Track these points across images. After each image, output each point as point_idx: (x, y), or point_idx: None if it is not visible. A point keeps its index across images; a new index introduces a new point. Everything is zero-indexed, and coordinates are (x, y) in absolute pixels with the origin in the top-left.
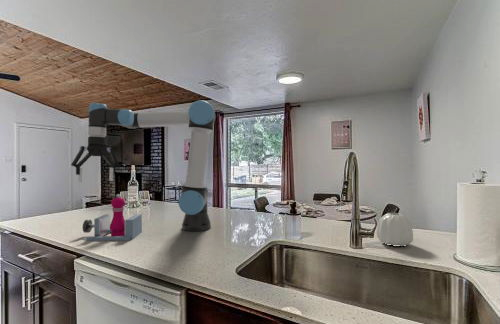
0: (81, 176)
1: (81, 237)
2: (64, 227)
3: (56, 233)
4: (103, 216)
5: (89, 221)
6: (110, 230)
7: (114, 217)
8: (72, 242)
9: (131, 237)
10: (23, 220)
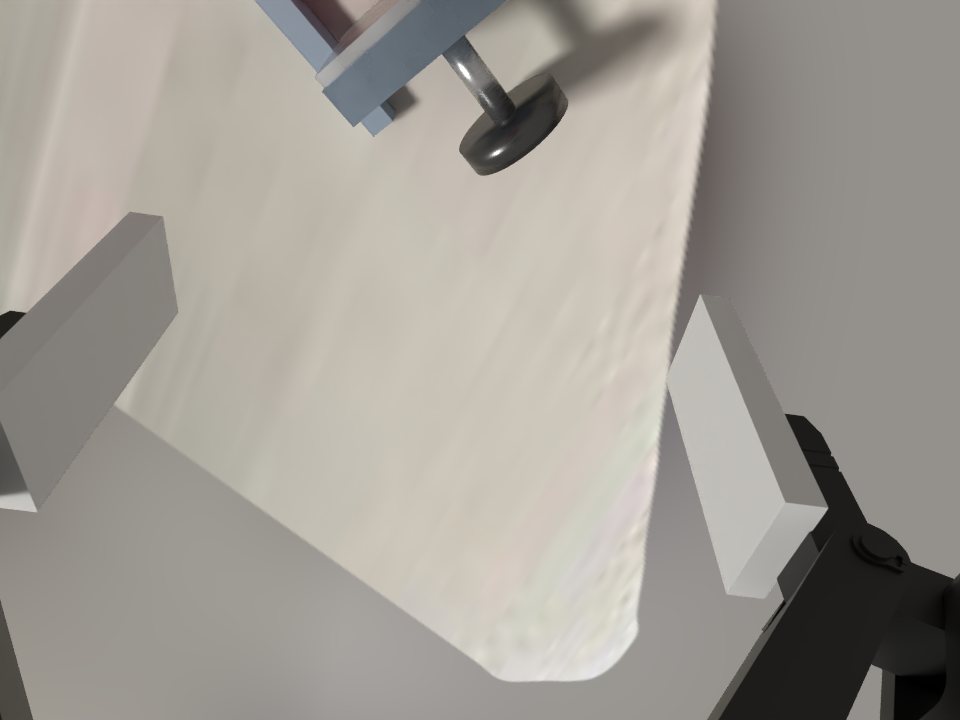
0: (734, 359)
1: None
2: (491, 431)
3: (591, 338)
4: (408, 28)
5: (498, 134)
6: None
7: None
8: (671, 7)
9: None
10: (545, 659)
